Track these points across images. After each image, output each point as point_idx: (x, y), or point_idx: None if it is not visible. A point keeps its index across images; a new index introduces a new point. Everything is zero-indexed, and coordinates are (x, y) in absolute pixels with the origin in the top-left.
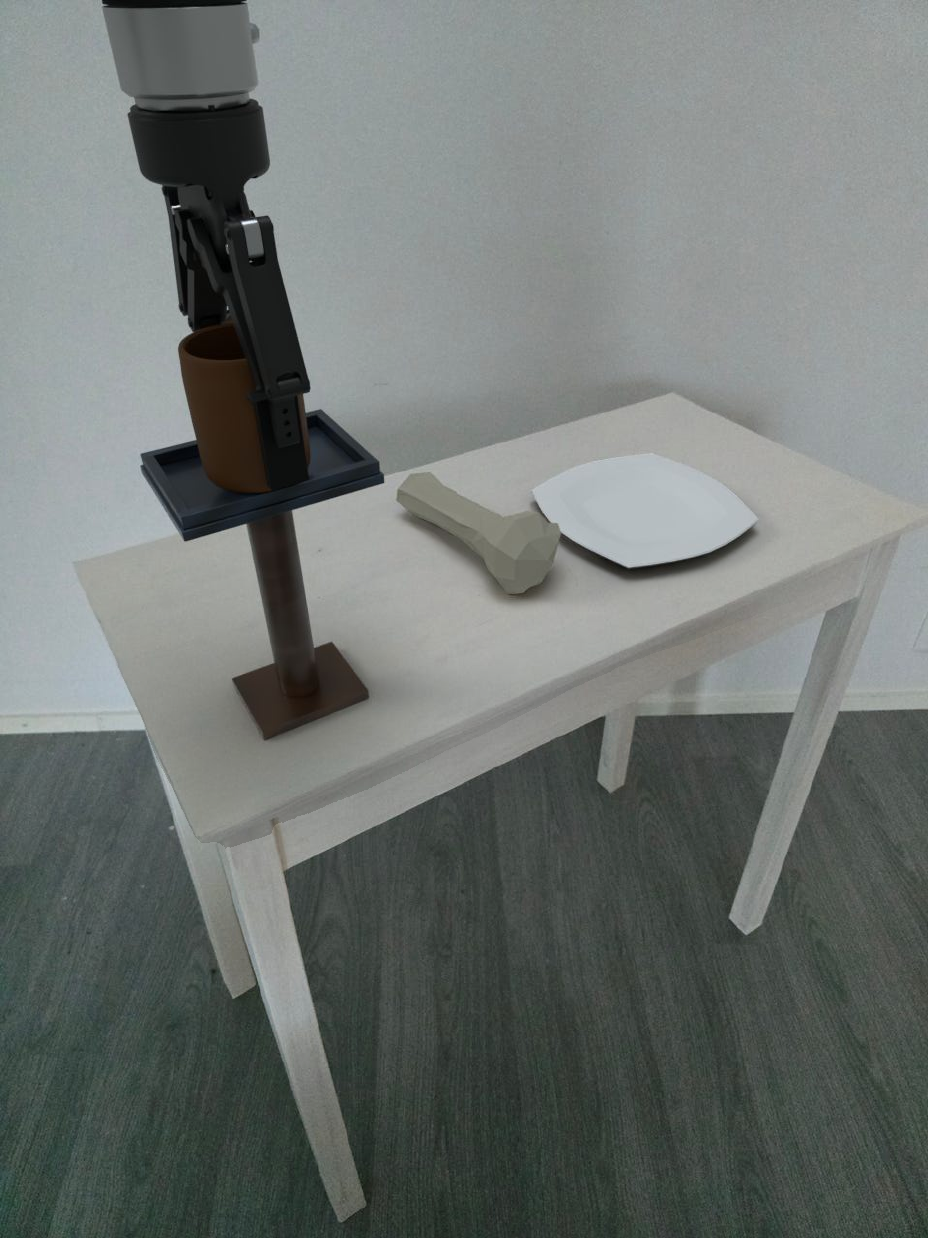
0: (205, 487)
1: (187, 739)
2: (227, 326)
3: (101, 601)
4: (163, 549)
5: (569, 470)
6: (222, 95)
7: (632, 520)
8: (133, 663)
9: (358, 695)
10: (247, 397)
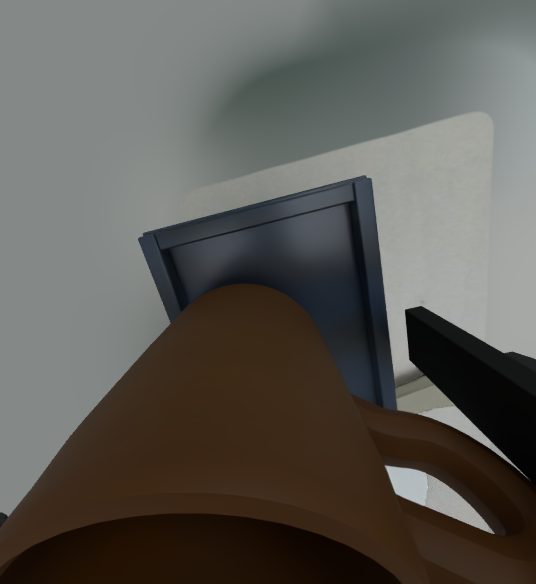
0: (258, 271)
1: (252, 189)
2: None
3: (437, 122)
4: (489, 180)
5: (424, 475)
6: None
7: None
8: (344, 151)
9: None
10: (2, 522)
